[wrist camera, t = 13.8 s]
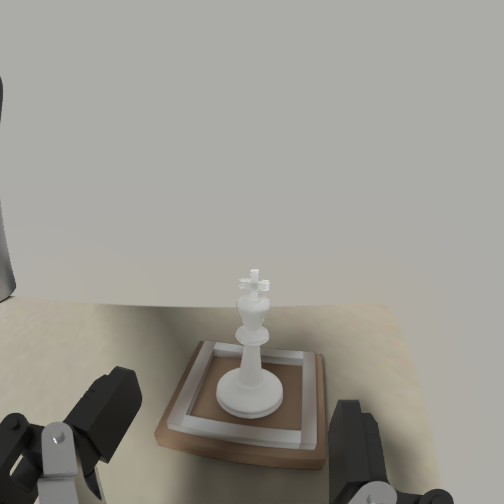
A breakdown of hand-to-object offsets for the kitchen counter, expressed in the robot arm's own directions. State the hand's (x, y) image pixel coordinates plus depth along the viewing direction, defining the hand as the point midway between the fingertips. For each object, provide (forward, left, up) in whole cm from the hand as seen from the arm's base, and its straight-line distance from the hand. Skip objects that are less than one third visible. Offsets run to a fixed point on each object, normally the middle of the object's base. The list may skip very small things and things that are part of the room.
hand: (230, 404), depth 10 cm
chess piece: (0, +8, -8) cm, 11 cm away
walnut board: (0, +8, -9) cm, 12 cm away
